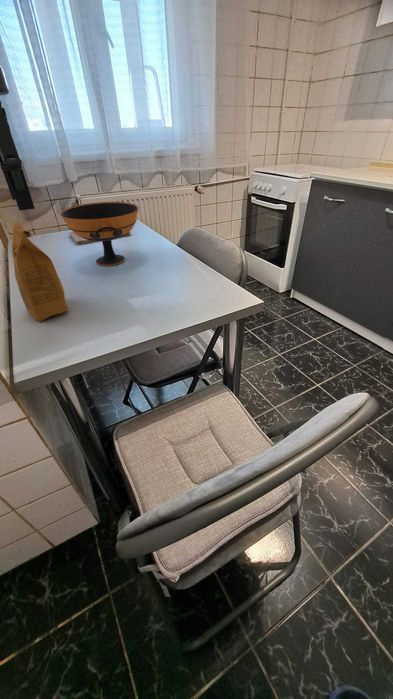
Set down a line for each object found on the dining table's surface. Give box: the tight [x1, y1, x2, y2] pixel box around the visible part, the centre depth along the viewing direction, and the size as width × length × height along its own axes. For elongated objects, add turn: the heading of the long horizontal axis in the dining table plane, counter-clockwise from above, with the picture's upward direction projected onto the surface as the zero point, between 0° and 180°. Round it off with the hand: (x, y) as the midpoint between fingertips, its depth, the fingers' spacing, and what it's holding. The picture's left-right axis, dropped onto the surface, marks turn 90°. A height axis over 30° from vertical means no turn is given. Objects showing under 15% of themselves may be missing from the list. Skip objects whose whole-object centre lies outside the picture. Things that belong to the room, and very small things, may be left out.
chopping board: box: [68, 231, 131, 246], centre depth 136 cm, size 24×16×2 cm, turn 121°
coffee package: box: [11, 220, 69, 322], centre depth 74 cm, size 10×12×22 cm
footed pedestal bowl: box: [59, 201, 140, 267], centre depth 104 cm, size 36×26×18 cm
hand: (23, 204), depth 61 cm, fingers open, 13 cm apart
